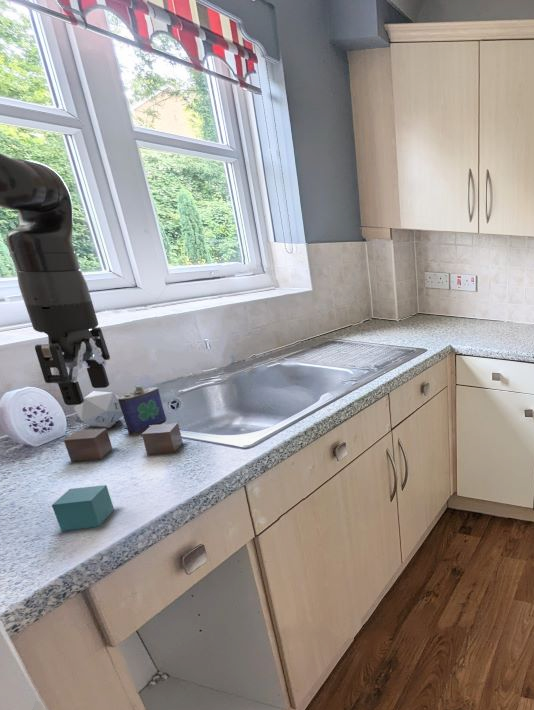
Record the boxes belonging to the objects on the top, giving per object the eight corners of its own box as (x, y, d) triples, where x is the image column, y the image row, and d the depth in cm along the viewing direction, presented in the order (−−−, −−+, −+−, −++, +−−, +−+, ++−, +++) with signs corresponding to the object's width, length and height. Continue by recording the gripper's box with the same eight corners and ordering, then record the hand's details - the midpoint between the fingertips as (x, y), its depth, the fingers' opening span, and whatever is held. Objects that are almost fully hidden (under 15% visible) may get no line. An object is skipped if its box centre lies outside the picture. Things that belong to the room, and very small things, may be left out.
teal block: (61, 531, 73) (51, 505, 71) (78, 513, 78) (69, 488, 76) (99, 526, 75) (90, 500, 73) (114, 509, 79) (106, 484, 77)
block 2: (147, 455, 98) (141, 434, 96) (156, 445, 102) (151, 424, 100) (174, 452, 99) (169, 431, 98) (182, 442, 104) (178, 422, 102)
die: (84, 438, 105) (108, 403, 105) (57, 415, 106) (80, 380, 105) (121, 435, 113) (143, 403, 113) (95, 414, 114) (117, 382, 114)
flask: (160, 419, 115) (150, 379, 111) (171, 420, 115) (161, 380, 111) (125, 434, 106) (112, 391, 103) (136, 435, 106) (123, 392, 102)
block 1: (71, 461, 94) (63, 440, 92) (84, 451, 98) (77, 430, 96) (101, 459, 95) (94, 437, 93) (112, 448, 100) (106, 428, 98)
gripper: (54, 293, 76) (83, 383, 82) (-5, 306, 64) (33, 412, 70) (110, 293, 79) (134, 381, 85) (63, 306, 66) (95, 408, 72)
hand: (88, 395), depth 77 cm, fingers open, 8 cm apart
